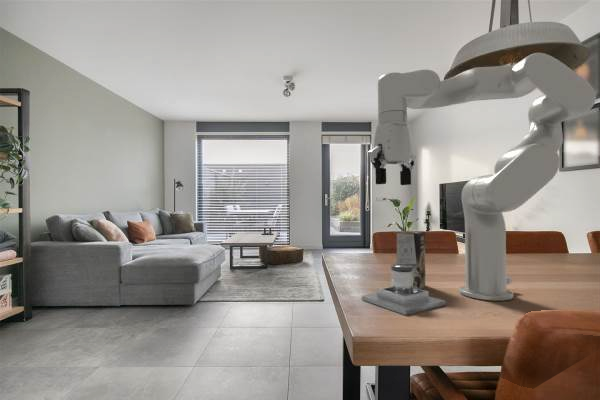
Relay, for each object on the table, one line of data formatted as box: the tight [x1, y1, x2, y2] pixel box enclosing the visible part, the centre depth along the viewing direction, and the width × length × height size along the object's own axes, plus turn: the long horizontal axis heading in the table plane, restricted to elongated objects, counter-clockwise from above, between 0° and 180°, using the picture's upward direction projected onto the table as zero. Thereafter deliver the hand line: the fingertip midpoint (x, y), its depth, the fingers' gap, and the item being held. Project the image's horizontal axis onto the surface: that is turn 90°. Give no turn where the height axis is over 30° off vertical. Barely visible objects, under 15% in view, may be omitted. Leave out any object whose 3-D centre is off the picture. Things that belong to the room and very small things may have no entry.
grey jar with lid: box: [390, 263, 413, 295], centre depth 83 cm, size 5×5×8 cm
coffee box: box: [396, 230, 426, 290], centre depth 98 cm, size 9×6×16 cm
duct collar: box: [361, 285, 447, 316], centre depth 83 cm, size 14×14×3 cm
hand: (393, 184), depth 90 cm, fingers open, 9 cm apart
